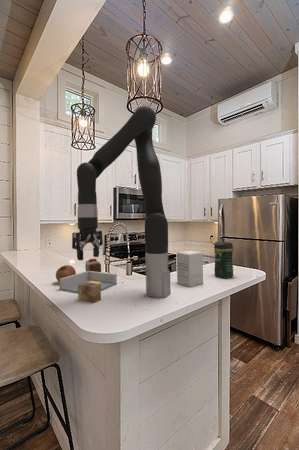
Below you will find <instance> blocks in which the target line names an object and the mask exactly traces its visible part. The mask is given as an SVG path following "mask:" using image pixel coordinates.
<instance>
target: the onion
mask: <svg viewBox="0 0 299 450" xmlns="http://www.w3.org/2000/svg"><path fill="white" fill-rule="evenodd" d="M75 274H77V271H76V269H75V268H74V267H73V266H72V265H69V264H66V265H63V266H62V265H61V266H60V267H59V268H58V269H57V270H56V272H55V279H56V280H57V283H60V279H61V278H64V277H68V276H71V275H75Z"/></svg>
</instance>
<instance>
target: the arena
mask: <svg viewBox="0 0 299 450" xmlns="http://www.w3.org/2000/svg"><path fill="white" fill-rule="evenodd" d="M117 275H118V274H117V273H111V272H102V271H101V272H94V271H86V270H85V271H81V272H79V273H76V274H75V275H71V276H68V277H64V278H61V279H60V282H59V291H63V292H68V293H74V294H78V284H81V283H84V282H88V283H95V284H101V292H102V291H105V290H107V289H109V288H112V287H114V286H116V285H117V284H118V282H117V281H118V279H117V278H118V277H117Z"/></svg>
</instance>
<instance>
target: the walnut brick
mask: <svg viewBox="0 0 299 450" xmlns="http://www.w3.org/2000/svg"><path fill="white" fill-rule="evenodd" d="M77 299H78V301H82V302H85V303H91V304H92V303H93V304H94V303H98V302H100V301H101V300H102V291H101V284H95V283H88V282H84V283H81V284H78V293H77Z"/></svg>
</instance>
